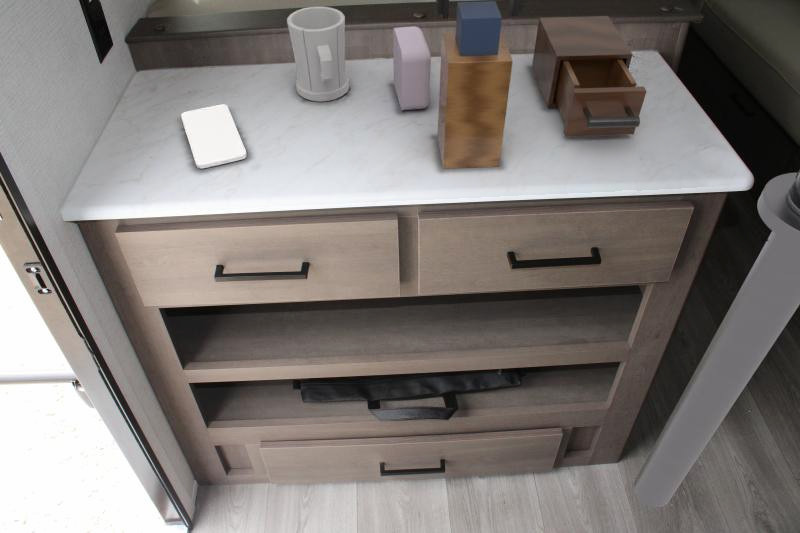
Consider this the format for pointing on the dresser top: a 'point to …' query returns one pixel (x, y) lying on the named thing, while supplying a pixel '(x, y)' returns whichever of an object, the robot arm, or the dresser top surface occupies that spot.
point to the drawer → (598, 97)
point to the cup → (319, 52)
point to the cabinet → (573, 47)
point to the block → (478, 28)
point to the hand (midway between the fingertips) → (478, 15)
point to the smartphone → (213, 136)
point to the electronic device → (411, 68)
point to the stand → (472, 105)
